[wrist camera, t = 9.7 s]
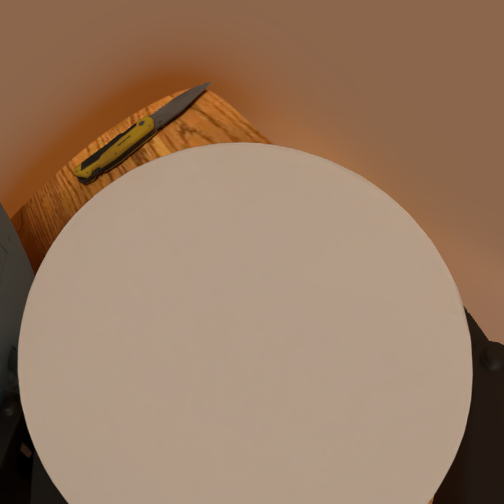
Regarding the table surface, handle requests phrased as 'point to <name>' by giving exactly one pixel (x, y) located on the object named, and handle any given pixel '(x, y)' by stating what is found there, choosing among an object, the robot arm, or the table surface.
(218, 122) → the table surface
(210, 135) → the table surface
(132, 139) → the utility knife
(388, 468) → the pill bottle
